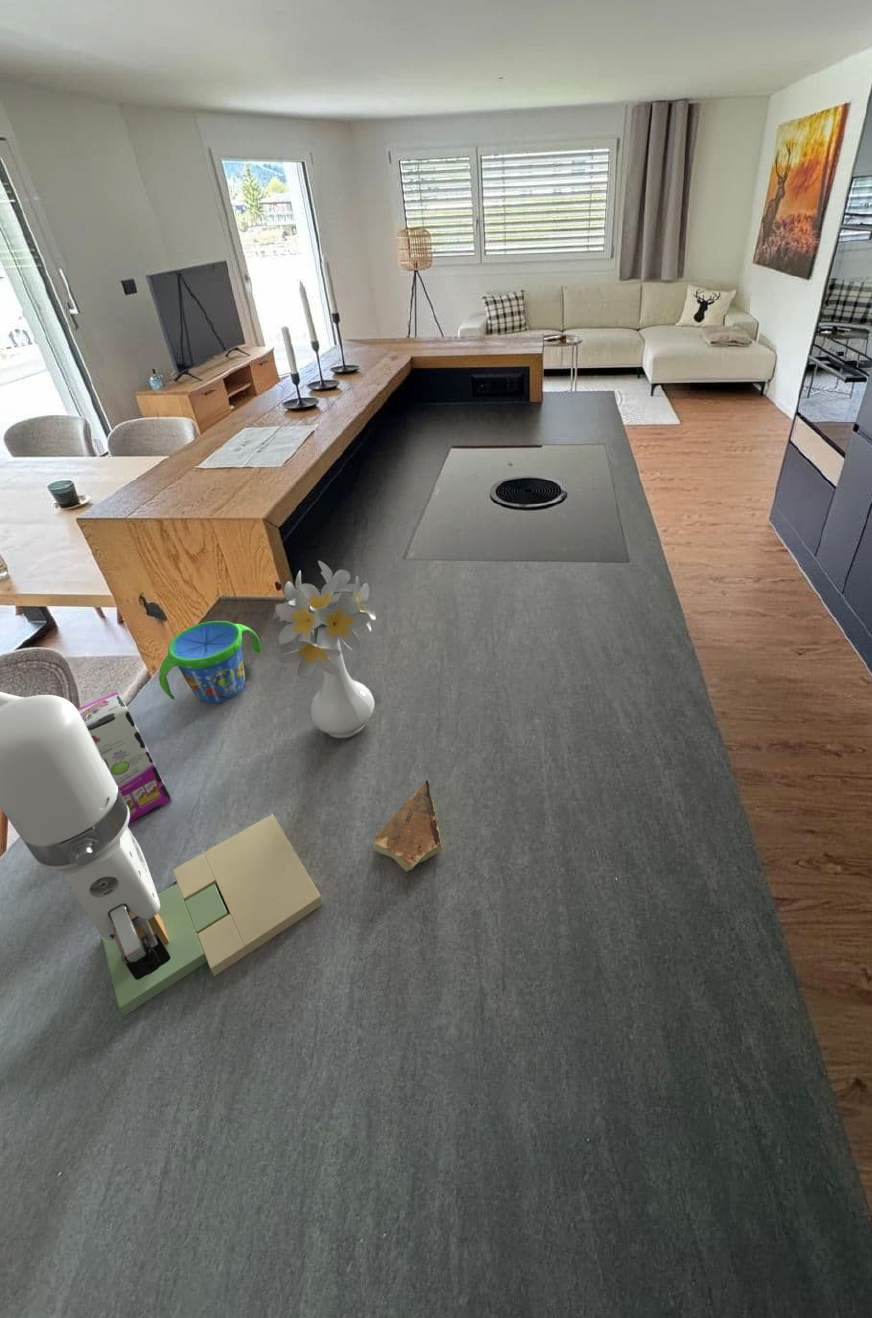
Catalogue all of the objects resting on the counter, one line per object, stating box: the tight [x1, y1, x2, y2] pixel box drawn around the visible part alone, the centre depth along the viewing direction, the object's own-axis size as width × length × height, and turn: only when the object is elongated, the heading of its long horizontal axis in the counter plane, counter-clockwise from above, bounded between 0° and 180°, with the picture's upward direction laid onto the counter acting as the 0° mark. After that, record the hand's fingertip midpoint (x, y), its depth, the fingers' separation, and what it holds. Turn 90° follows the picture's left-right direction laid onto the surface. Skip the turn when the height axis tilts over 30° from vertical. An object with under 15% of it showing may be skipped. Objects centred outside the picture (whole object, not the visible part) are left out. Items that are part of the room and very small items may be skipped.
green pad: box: [100, 883, 229, 1016], centre depth 65 cm, size 11×10×8 cm
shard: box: [372, 779, 444, 872], centre depth 76 cm, size 11×8×2 cm
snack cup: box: [158, 620, 262, 704], centre depth 98 cm, size 16×10×10 cm
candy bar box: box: [76, 690, 172, 825], centre depth 76 cm, size 11×5×16 cm, turn 131°
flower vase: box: [272, 560, 377, 739], centre depth 86 cm, size 13×18×25 cm
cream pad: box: [172, 813, 324, 977], centre depth 70 cm, size 12×14×2 cm
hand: (141, 928), depth 64 cm, fingers open, 9 cm apart
